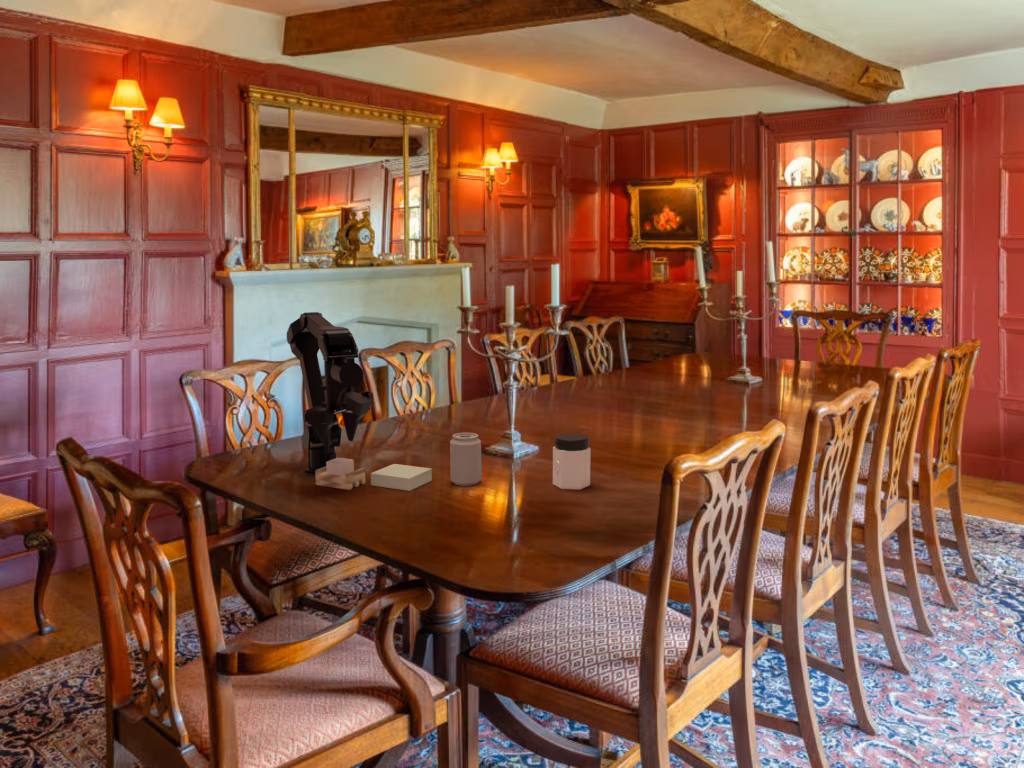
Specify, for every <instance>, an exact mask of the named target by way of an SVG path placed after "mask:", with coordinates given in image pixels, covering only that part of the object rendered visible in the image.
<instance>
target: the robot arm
mask: <svg viewBox="0 0 1024 768" xmlns="http://www.w3.org/2000/svg"><path fill="white" fill-rule="evenodd" d="M286 341H287V343H288V345H289V348H290V351H291V353H292V354H293V355H294V356H295V357H296V358H297V359H298V360H299V363H300V370H301V374H302V379H303V380H302V381H303V385H304V390H305V395H306V401H307V405H308V408H307V409H306V410H305V411H304V412H303V422H305V428H304V430H303V433H302V436H301V444H302V448H303V449H305V450H306V451H307V461H308V468H305V469H304V472H307V473H314V474H315V470H317V469H320V468H323V467H326V462H327V461H330V460H333V459H335V458H337V453H336V449H335V448H336V447H337V448H338V447H340V446H341V442H342V441H341V439H342V430H343V429H342V428H341V424H340V423H339V422H338V415H339V414H341V417H342V420H343V424H344V429H345V433H346V436H347V440H348V441H349V442H353V441H354V439H355V435H356V432H357V429H358V425H359V423H360V421H361V418H363V417H364V416H365V415H366V414H368V413H369V411H371V407H372V406H374V404H375V402H374V400H375V399H374V392H372V391H370V390H366V391H363V392H362V393H361V392H356V391H355V387H356V386H358V385H360V384H361V382H362V381H363V378H364V371H363V368H362V366H361V365H360V364H358V363H356V362H355V360H356V359H358V358H359V348H358V346H357V343H356V339H355V338H354V335H353V333H352V332H351V331H350V329H349V328H348V327H345V326H337V325H336V326H335V325H334V324H332V323H331V322H330V321H328V320H327V319H326V318H325V317H324V316H323V314H322V312H319V311H314V312H311V311H310V312H303V313H301V314H300V316H299V317H298V319H295V320H294V321H293V322H291V323H290V324H289V325H288V328H287V331H286ZM319 351H320V353H321V355H322V357H323V358H322V359H323V362H324V363H323V364H324V365H323V367H324V382H323V378H322V377H323V376H322V372H321V368H320V363H319V358H318V353H319Z"/></svg>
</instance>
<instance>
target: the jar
mask: <svg viewBox="0 0 1024 768" xmlns="http://www.w3.org/2000/svg"><path fill="white" fill-rule="evenodd" d="M553 443H554V446H553V447H552V485H553V486H556V487H557V488H559V489H560V490H572V491H573V490H576V491H577V490H578V491H580V490H583V489H584V488H587V487H590V486H591V450H592V449H591V446H589V445H590V444H589V443H590V437H589V435H587V434H584V433H579V432H564V433H558V434H556V435H555V436H554V441H553Z"/></svg>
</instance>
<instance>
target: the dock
mask: <svg viewBox="0 0 1024 768" xmlns="http://www.w3.org/2000/svg"><path fill="white" fill-rule="evenodd" d="M432 471H433V470H432V468H431V467H421V466H413V465H405V464H400V463H399V464H398V463H393V464H390V465H388V466H385V467H383V468H381V469H377V470H375V471H373V472H370V486H373V487H380V488H385V489H386V488H387V489H395V490H402V491H407V492H410V491H412V490H415V489H416V488H419V487H421V486H422V485H425V484H427V483H430V482H432V480H433V472H432Z"/></svg>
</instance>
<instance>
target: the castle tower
mask: <svg viewBox="0 0 1024 768" xmlns="http://www.w3.org/2000/svg"><path fill="white" fill-rule="evenodd" d="M314 474H315V475H314V476H315V477H314V478H315V485H317V486H322V487H328V488H333V489H334V488H335V489H341V490H347V491H348V490H349V491H350V490H352V489H353V487H354V488H357V487H359V486H360V485H364V484H366V468H365V467H364V468H363V467H361V468H358V469H356V470H355V469H354V471H353V472H351V473H348V474H346V475H344V476H338V475H331V474H327V468H326V467H323V468H320V469H317V470H315V473H314Z"/></svg>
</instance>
